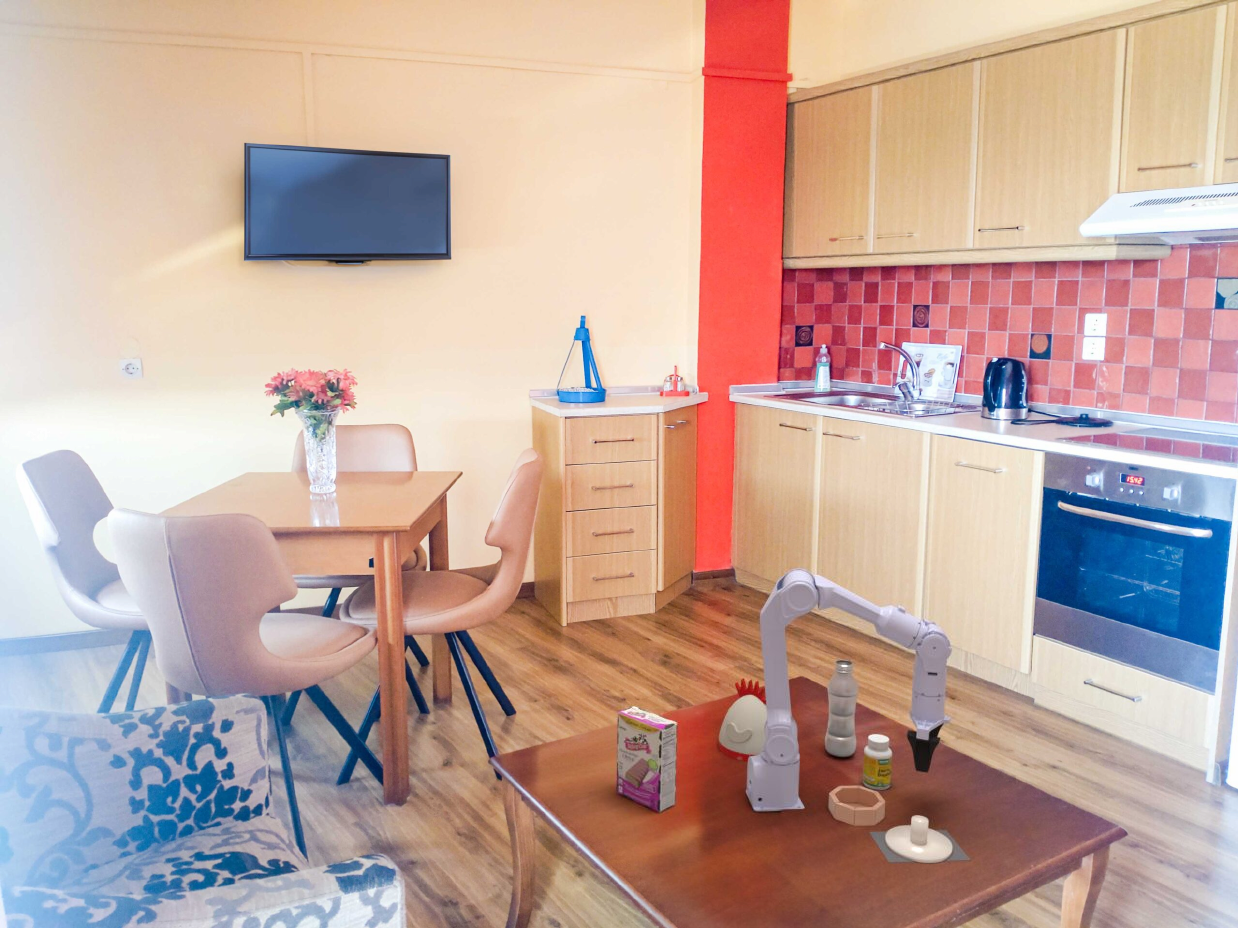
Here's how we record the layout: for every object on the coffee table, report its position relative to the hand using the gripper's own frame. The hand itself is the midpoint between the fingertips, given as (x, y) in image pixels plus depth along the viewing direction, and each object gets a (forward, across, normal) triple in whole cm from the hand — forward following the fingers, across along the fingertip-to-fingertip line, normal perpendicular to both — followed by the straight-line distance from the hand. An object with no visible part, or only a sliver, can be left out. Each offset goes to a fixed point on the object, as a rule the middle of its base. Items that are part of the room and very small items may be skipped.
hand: (924, 762), depth 178 cm
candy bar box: (+10, -16, +48) cm, 52 cm away
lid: (+9, -13, -1) cm, 16 cm away
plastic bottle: (+10, +20, +19) cm, 29 cm away
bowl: (+10, -6, +11) cm, 16 cm away
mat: (+10, -13, -1) cm, 17 cm away
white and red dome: (+10, +15, +36) cm, 41 cm away
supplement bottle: (+10, +9, +9) cm, 16 cm away
